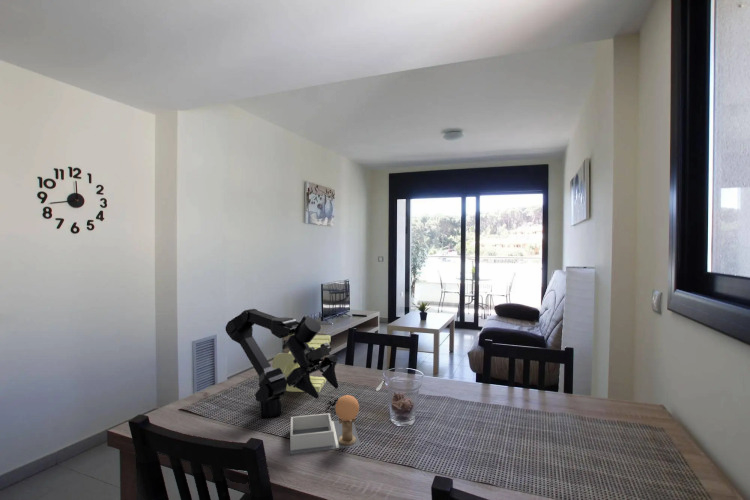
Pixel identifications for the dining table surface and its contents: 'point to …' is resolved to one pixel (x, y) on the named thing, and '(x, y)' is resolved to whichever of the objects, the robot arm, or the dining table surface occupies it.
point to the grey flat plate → (337, 434)
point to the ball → (347, 408)
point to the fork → (379, 386)
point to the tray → (311, 438)
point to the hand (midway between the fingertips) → (327, 392)
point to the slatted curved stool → (287, 364)
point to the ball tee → (347, 432)
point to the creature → (332, 403)
